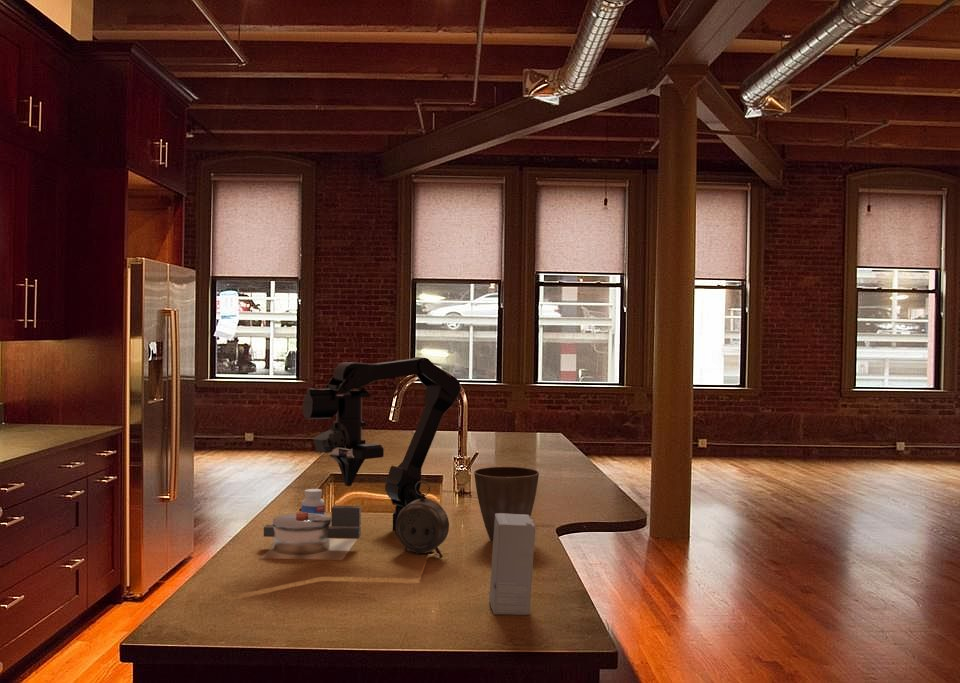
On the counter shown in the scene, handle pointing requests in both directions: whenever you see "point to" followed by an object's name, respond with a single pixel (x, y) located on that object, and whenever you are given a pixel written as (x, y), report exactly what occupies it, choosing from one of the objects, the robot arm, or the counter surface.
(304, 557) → the trivet
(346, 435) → the robot arm
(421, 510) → the alarm clock
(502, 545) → the skincare box
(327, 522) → the lid
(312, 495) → the pill bottle
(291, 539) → the cooker pot
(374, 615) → the counter surface
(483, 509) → the plant pot
